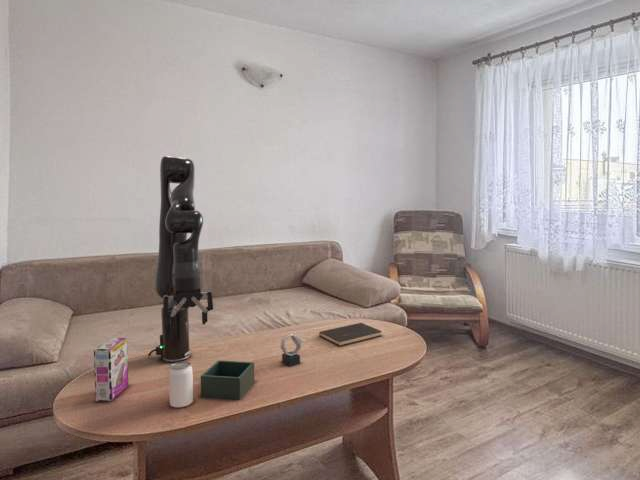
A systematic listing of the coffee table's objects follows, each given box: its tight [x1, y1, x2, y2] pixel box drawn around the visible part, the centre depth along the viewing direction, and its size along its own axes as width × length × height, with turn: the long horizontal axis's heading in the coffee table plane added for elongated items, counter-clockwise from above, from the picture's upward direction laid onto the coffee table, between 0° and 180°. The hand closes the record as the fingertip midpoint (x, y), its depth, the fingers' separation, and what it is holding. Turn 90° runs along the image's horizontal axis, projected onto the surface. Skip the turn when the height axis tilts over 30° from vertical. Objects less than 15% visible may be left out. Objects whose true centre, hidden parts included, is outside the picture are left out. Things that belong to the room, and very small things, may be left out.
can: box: [168, 361, 194, 409], centre depth 132 cm, size 6×6×12 cm
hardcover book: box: [318, 322, 383, 347], centre depth 196 cm, size 16×23×2 cm
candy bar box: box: [93, 337, 129, 402], centre depth 136 cm, size 11×5×16 cm, turn 5°
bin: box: [200, 359, 255, 400], centre depth 142 cm, size 13×13×7 cm
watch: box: [280, 333, 303, 367], centre depth 164 cm, size 6×8×11 cm
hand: (189, 325), depth 137 cm, fingers open, 8 cm apart
